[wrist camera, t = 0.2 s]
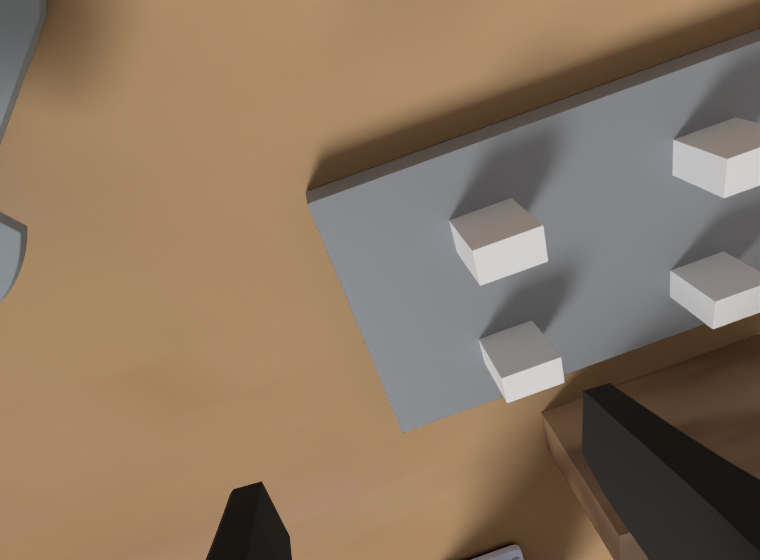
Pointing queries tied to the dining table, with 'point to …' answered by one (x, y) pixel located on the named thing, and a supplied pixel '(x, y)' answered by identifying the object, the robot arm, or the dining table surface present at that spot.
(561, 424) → the cabinet door
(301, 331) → the dining table surface
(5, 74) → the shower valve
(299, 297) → the dining table surface
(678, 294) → the hinge board
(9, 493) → the dining table surface
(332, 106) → the dining table surface
